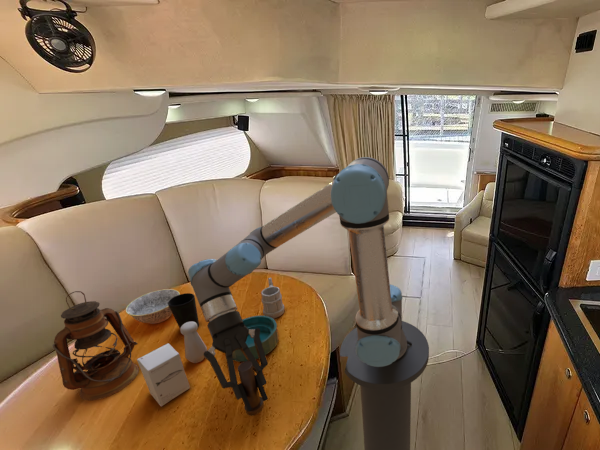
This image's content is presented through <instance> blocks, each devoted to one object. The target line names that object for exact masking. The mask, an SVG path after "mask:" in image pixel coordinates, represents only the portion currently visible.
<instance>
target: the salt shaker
mask: <svg viewBox="0 0 600 450" xmlns="http://www.w3.org/2000/svg"><path fill="white" fill-rule="evenodd" d="M198 328H199V327H198V326H197V323H196V322H193V321H190V322H187V323H185V324H183V325H182V326H181V328H179V331H180V334H182V335H183V339H184V357H185V359H186V360H187V361H189V362H190V363H193V364H197V363H200V362H202V361H204V360H205V358H204V356H203V355H204V352H205V351H208V347H207V345H206V343H205V342H204V340H203V339H202V337H201V336H200V334H199V333H198V331H197V330H198Z"/></svg>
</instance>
